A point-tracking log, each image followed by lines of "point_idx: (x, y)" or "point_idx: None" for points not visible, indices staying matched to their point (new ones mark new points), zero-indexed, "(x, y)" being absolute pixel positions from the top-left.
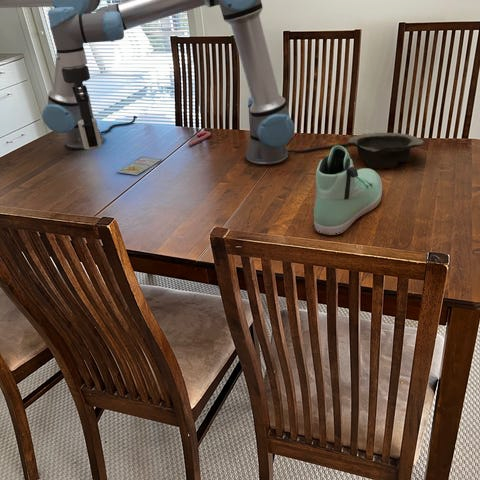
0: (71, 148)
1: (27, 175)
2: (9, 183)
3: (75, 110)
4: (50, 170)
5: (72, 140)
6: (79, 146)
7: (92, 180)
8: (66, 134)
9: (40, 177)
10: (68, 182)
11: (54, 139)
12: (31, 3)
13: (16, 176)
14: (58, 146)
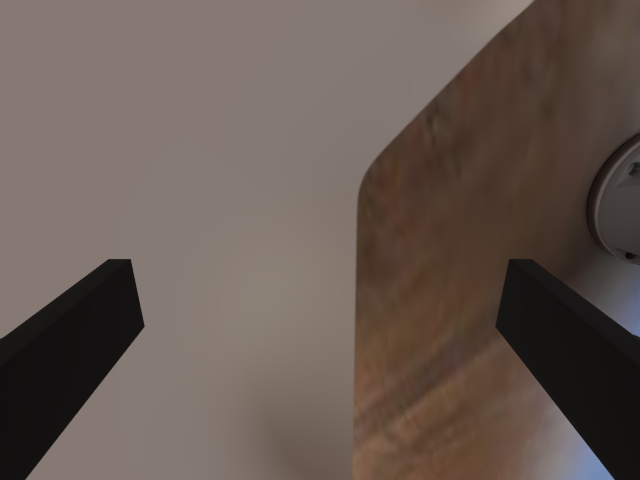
0: (592, 235)
1: (414, 375)
2: (365, 401)
3: None
4: (477, 373)
5: (626, 251)
6: (622, 259)
7: (546, 470)
8: (636, 209)
9: (443, 403)
10: (496, 457)
11: (579, 54)
12: None
13: (386, 367)
14: (562, 169)
